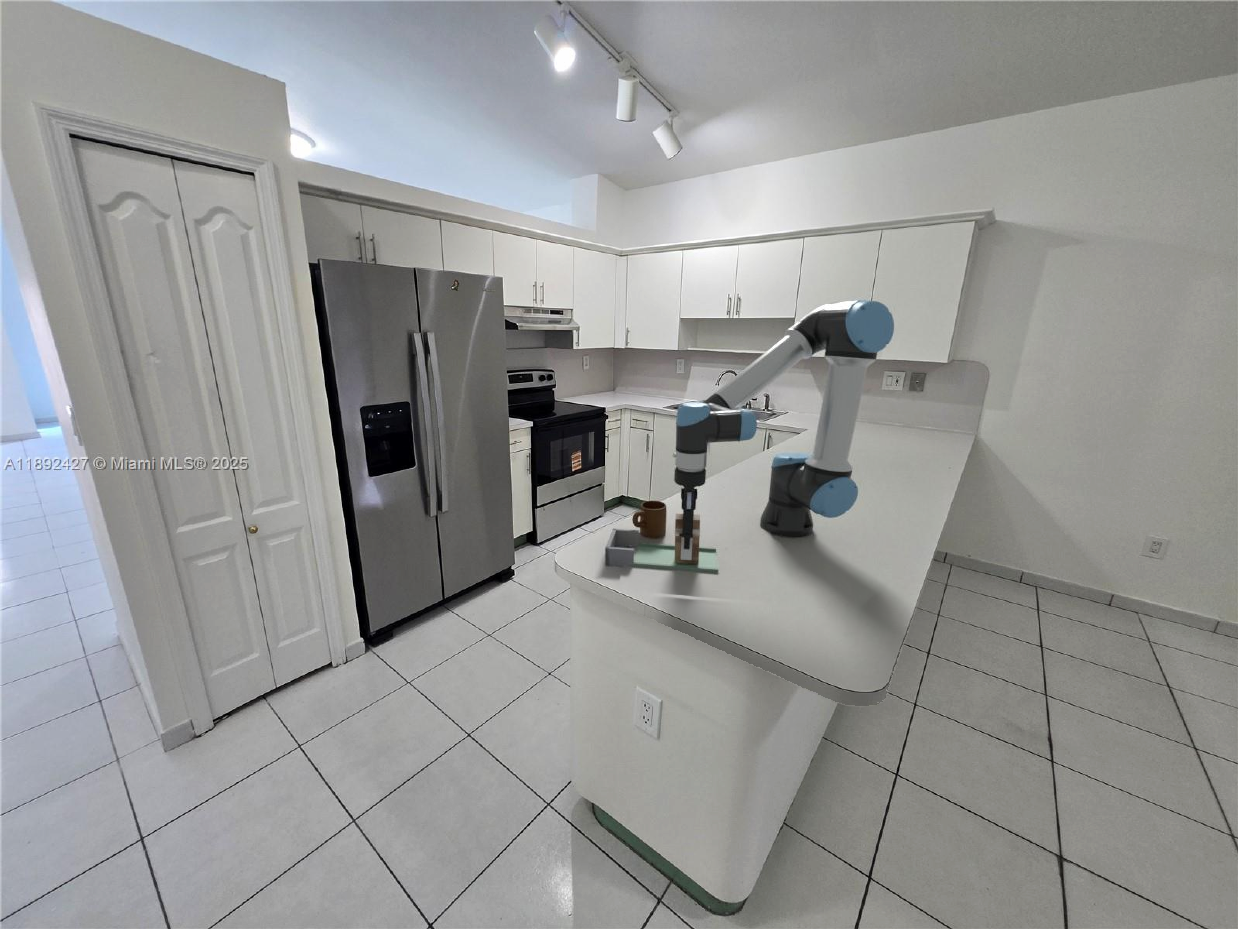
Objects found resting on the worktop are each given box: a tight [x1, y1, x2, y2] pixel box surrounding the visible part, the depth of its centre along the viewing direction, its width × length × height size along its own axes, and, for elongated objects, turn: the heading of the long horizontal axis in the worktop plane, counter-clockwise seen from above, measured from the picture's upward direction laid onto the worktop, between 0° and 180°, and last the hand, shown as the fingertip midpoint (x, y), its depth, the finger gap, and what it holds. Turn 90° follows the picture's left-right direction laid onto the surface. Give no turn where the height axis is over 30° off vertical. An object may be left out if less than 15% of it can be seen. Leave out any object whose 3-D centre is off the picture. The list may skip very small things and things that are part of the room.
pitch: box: [604, 528, 719, 574], centre depth 121 cm, size 28×12×5 cm, turn 81°
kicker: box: [674, 513, 701, 564], centre depth 117 cm, size 6×4×12 cm, turn 81°
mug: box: [631, 500, 668, 539], centre depth 133 cm, size 12×8×9 cm, turn 133°
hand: (686, 554), depth 118 cm, fingers closed on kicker, 4 cm apart
